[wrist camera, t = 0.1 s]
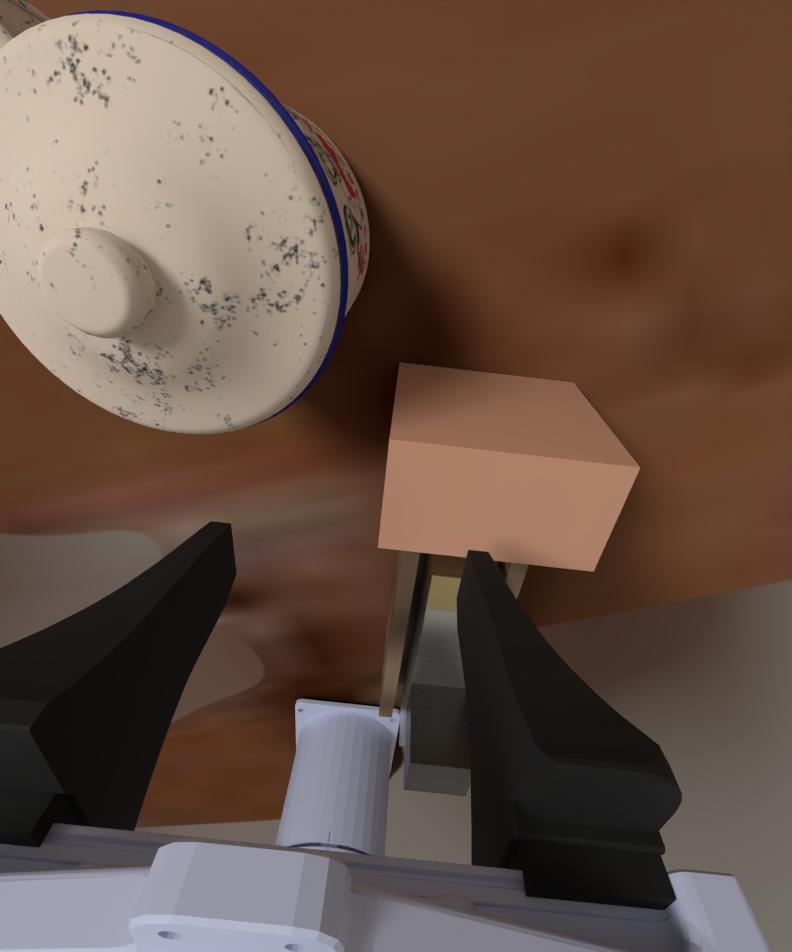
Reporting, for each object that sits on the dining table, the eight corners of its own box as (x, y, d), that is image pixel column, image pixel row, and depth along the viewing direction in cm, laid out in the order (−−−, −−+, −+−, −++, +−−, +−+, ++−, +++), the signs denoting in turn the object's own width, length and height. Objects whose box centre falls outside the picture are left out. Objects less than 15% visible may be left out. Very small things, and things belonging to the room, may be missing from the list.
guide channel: (467, 662, 32) (473, 726, 28) (383, 653, 32) (378, 716, 28) (520, 480, 24) (538, 535, 20) (409, 468, 24) (406, 521, 20)
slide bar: (446, 703, 30) (452, 829, 24) (400, 698, 30) (395, 823, 24) (492, 538, 23) (517, 662, 17) (431, 531, 23) (434, 653, 17)
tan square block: (546, 466, 23) (593, 571, 17) (390, 448, 23) (377, 547, 17) (573, 382, 21) (640, 467, 15) (399, 362, 21) (389, 439, 15)
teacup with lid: (423, 251, 19) (425, 321, 9) (273, 387, 22) (152, 550, 12) (176, -83, 14) (-408, -731, 4) (36, 154, 17) (-469, 108, 8)
